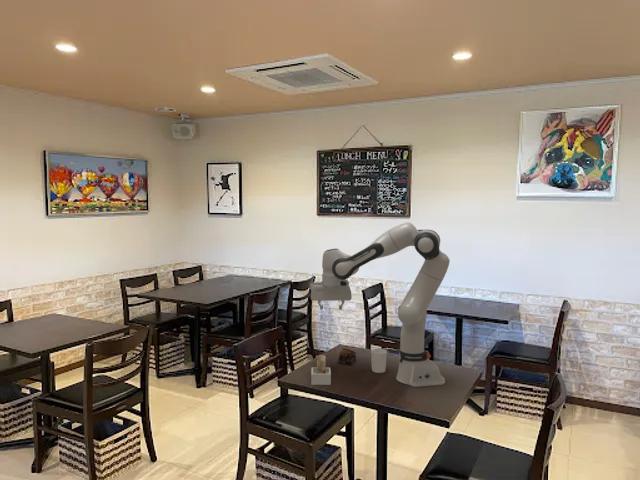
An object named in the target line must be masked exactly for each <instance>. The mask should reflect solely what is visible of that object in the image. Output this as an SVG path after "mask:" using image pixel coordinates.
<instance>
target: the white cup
mask: <svg viewBox="0 0 640 480" xmlns="http://www.w3.org/2000/svg"><path fill="white" fill-rule="evenodd" d="M387 355H388V350H386V349H383V348H374V349H371V350H370V360H371V362H370V363H371V371H372V372H373V373H377V374H382V373H385V372H386V369H387V367H386V366H387Z"/></svg>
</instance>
